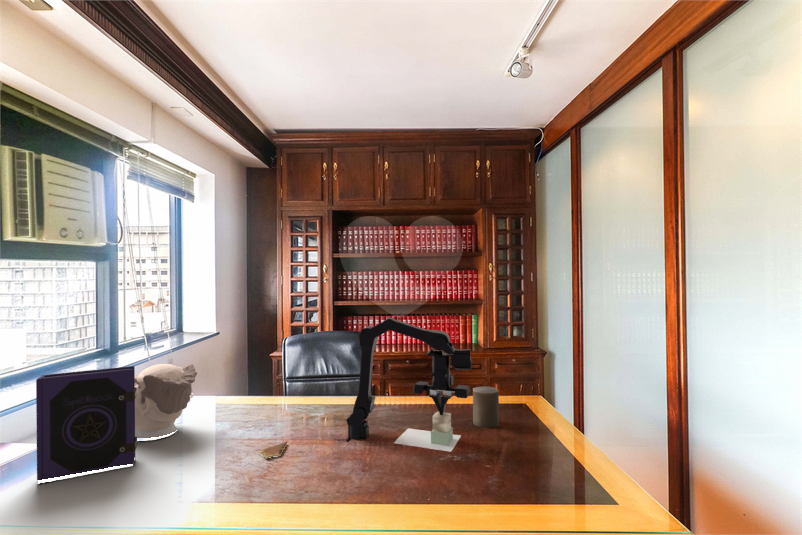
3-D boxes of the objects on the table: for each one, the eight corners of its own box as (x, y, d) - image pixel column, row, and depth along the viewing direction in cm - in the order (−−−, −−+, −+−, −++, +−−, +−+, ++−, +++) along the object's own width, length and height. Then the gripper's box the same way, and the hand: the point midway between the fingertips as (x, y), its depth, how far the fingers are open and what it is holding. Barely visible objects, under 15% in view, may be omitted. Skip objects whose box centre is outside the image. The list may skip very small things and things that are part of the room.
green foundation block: (431, 443, 142) (430, 431, 142) (436, 436, 147) (436, 425, 147) (448, 445, 140) (448, 433, 140) (452, 439, 145) (452, 427, 145)
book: (36, 486, 118) (35, 379, 119) (43, 476, 124) (42, 374, 124) (135, 467, 129) (134, 369, 129) (137, 458, 135) (136, 365, 135)
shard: (287, 445, 145) (287, 440, 145) (298, 452, 140) (298, 447, 140) (257, 455, 137) (257, 449, 137) (268, 463, 132) (268, 457, 132)
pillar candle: (497, 431, 154) (497, 390, 154) (470, 428, 157) (470, 388, 157) (500, 422, 163) (500, 384, 163) (475, 420, 166) (474, 381, 166)
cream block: (432, 431, 142) (432, 416, 142) (437, 425, 147) (436, 411, 147) (447, 433, 140) (446, 418, 140) (451, 427, 145) (450, 413, 145)
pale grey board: (393, 445, 142) (393, 442, 142) (408, 430, 155) (408, 428, 155) (451, 454, 135) (451, 451, 135) (461, 438, 148) (461, 435, 148)
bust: (93, 420, 154) (119, 350, 149) (144, 404, 172) (168, 341, 167) (137, 465, 145) (166, 391, 140) (186, 443, 163) (213, 377, 158)
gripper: (473, 365, 148) (473, 410, 148) (422, 362, 154) (423, 404, 154) (466, 373, 137) (466, 421, 137) (412, 368, 144) (412, 414, 144)
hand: (441, 414), depth 143 cm, fingers closed
